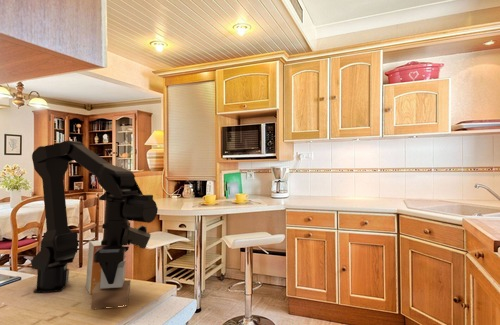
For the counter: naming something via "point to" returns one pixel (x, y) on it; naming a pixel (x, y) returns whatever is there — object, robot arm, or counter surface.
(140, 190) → the robot arm
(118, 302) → the base block
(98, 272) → the small box
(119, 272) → the cube
